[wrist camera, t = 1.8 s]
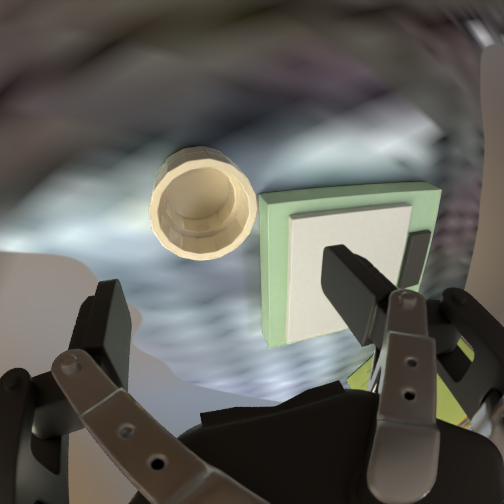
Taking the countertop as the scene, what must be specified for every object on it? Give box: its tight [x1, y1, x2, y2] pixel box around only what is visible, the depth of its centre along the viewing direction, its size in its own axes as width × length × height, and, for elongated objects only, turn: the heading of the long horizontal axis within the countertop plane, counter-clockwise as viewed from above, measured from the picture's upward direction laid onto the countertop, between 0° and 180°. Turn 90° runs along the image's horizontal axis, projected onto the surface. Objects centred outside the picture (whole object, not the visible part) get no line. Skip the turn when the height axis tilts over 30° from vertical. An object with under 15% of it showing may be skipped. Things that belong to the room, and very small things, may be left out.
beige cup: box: [149, 146, 257, 261], centre depth 20 cm, size 6×6×5 cm
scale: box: [259, 182, 442, 348], centre depth 27 cm, size 14×17×3 cm
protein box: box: [347, 337, 474, 429], centre depth 33 cm, size 10×15×16 cm
